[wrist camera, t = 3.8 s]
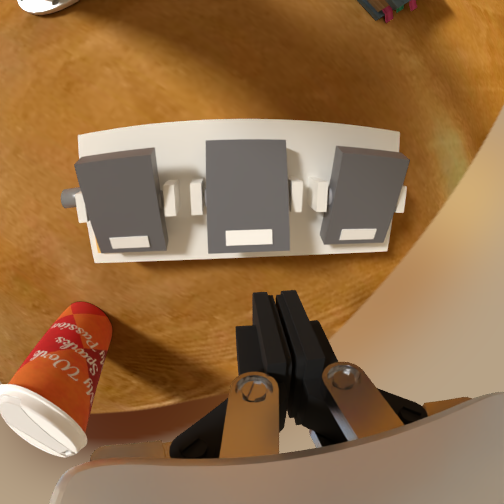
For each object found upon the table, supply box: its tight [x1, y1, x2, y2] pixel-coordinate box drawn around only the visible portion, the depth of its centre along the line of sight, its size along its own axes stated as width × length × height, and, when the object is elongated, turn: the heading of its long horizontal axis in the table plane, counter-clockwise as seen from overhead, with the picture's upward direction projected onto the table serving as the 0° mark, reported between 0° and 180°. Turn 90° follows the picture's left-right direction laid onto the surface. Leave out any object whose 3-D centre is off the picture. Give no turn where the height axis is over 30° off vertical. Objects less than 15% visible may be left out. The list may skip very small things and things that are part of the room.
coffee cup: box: [0, 302, 112, 457], centre depth 21 cm, size 8×8×15 cm
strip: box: [61, 119, 407, 263], centre depth 21 cm, size 10×27×6 cm, turn 90°
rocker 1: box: [74, 147, 169, 253], centre depth 18 cm, size 7×5×2 cm
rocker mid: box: [205, 139, 290, 254], centre depth 18 cm, size 7×5×2 cm
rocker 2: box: [320, 146, 410, 245], centre depth 19 cm, size 7×5×2 cm
